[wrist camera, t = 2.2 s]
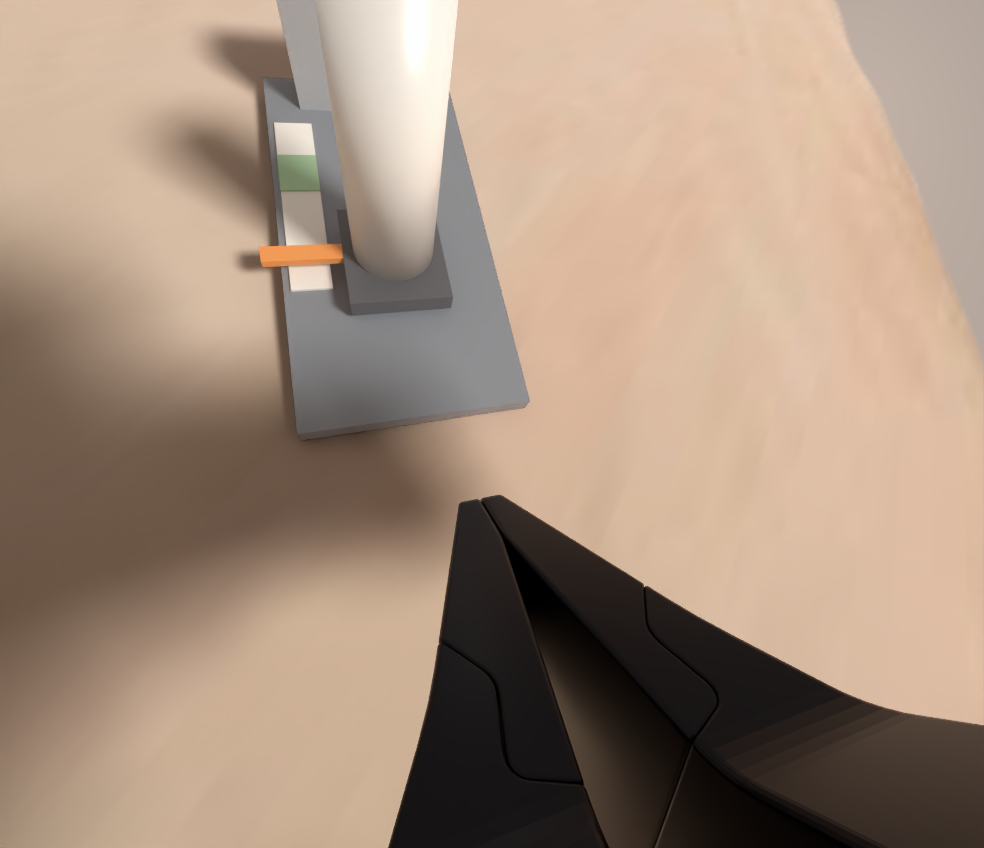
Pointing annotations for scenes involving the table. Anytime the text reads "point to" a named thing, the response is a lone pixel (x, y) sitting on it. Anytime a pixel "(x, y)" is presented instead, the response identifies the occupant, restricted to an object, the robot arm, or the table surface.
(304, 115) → the gauge board
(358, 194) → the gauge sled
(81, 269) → the table surface
